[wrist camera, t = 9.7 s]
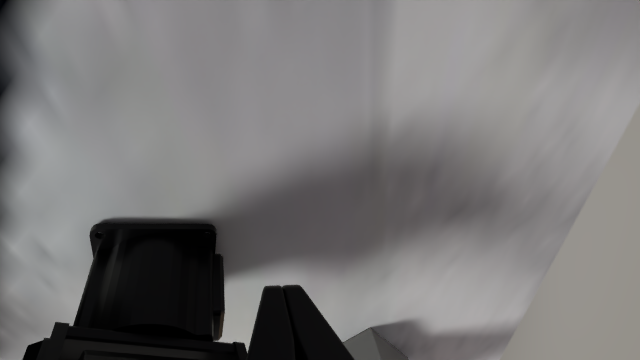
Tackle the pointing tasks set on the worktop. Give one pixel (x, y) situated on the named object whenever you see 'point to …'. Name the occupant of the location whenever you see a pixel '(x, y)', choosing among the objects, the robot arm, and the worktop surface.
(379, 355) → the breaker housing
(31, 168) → the worktop surface
